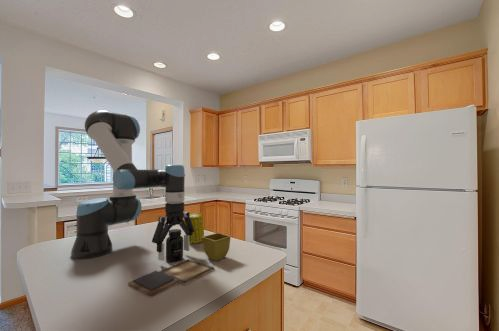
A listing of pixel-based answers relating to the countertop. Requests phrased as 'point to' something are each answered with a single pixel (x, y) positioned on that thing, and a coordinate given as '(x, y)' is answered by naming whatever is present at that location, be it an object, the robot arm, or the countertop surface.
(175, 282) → the ink tray
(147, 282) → the pad
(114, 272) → the countertop surface
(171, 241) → the supplement bottle
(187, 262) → the board
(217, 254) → the flower pot
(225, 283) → the countertop surface
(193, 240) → the food
